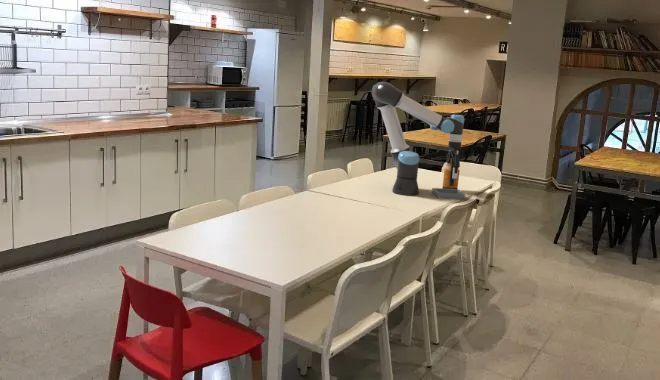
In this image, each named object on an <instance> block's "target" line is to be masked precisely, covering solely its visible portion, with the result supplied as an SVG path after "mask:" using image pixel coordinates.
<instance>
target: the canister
mask: <svg viewBox="0 0 660 380" xmlns="http://www.w3.org/2000/svg"><path fill="white" fill-rule="evenodd" d="M450 160H451V163H445V168H444V169H443V171H444V172H443V180H442V188H441V189H458V187H459V179H460V178H459V177H460V167H459V168H458V175H457V179H454V178H452V176H453V166H454V161H453V158H451V159H450ZM458 190H459V189H458Z"/></svg>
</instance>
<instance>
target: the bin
mask: <svg viewBox="0 0 660 380" xmlns="http://www.w3.org/2000/svg"><path fill="white" fill-rule="evenodd" d="M431 194H432V195H433V196H435V198H437V199H445V200H447V199H448V200H450V199H452V200H465V198H466V193H464V192H463V191H461V190H460V189H442V188H440V187H433V188H432V189H431Z"/></svg>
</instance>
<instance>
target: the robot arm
mask: <svg viewBox="0 0 660 380" xmlns="http://www.w3.org/2000/svg"><path fill="white" fill-rule="evenodd" d="M371 96H372V98H373V100H374V103H375V105H376V108H377V109H378V110H380V114H381V116H382V120H383V123H384V126H385V129H386V133H387V137H388V139H389V144H390V146H391V150H390V156H391V158H392V164H393V166H394V168H396V169H397V171H396V179H395V182H394V183H393V186H392V193H394V194H396V195H400V196H401V195H403V196H416V195H419V194H420V189H419V183H418V173H419V163H420V155H419V153H417V152H414V151H411V147H410V145H408V144H407V143H406V140H405V137H404V132H403V130H402V127H401V123H400V120H399V116H398V112H397V109H396V108H398V109H401V110H402V111H404V112H405V113H408V114H409V115H411V116H412V117H414V118H417V119H418V120H421V121H422V122H424V123H426V124H428V125H429V127H430V130H432V131H439V132H441V133H444V134H449V135H448V140H449V141H448V144H447V147H448V152H447V157H446V159H445V162H446V164H448V163H451V160H450V159H451V158H453V161H454V166H453V176H452V178H454V179H457V175H458V168H459V169H460V167H461V165H460V164H461V162H460V154H461V152H460V150H459V149H461V148H462V141H463V138H464V136H463V131H464V124H465V117H464V116H463V114H462V115H461V114H452V115H450V117H444V116H442V115H441V114H439V113H438V112H435V111H434V110H432V109H431V108H428V107H426V106H424V105H423V104H422V103H421V104H420V103H419V102H417V101H416V100H414V99H412V98H410V97H408V96H407V95H405V94H404V92H403V91H401V90H400V89H398V88H396V87H395V86H394V85H392V83H389V82H387V81H379V82H376V83H375V84H374V85H373V86H372V89H371Z"/></svg>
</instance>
